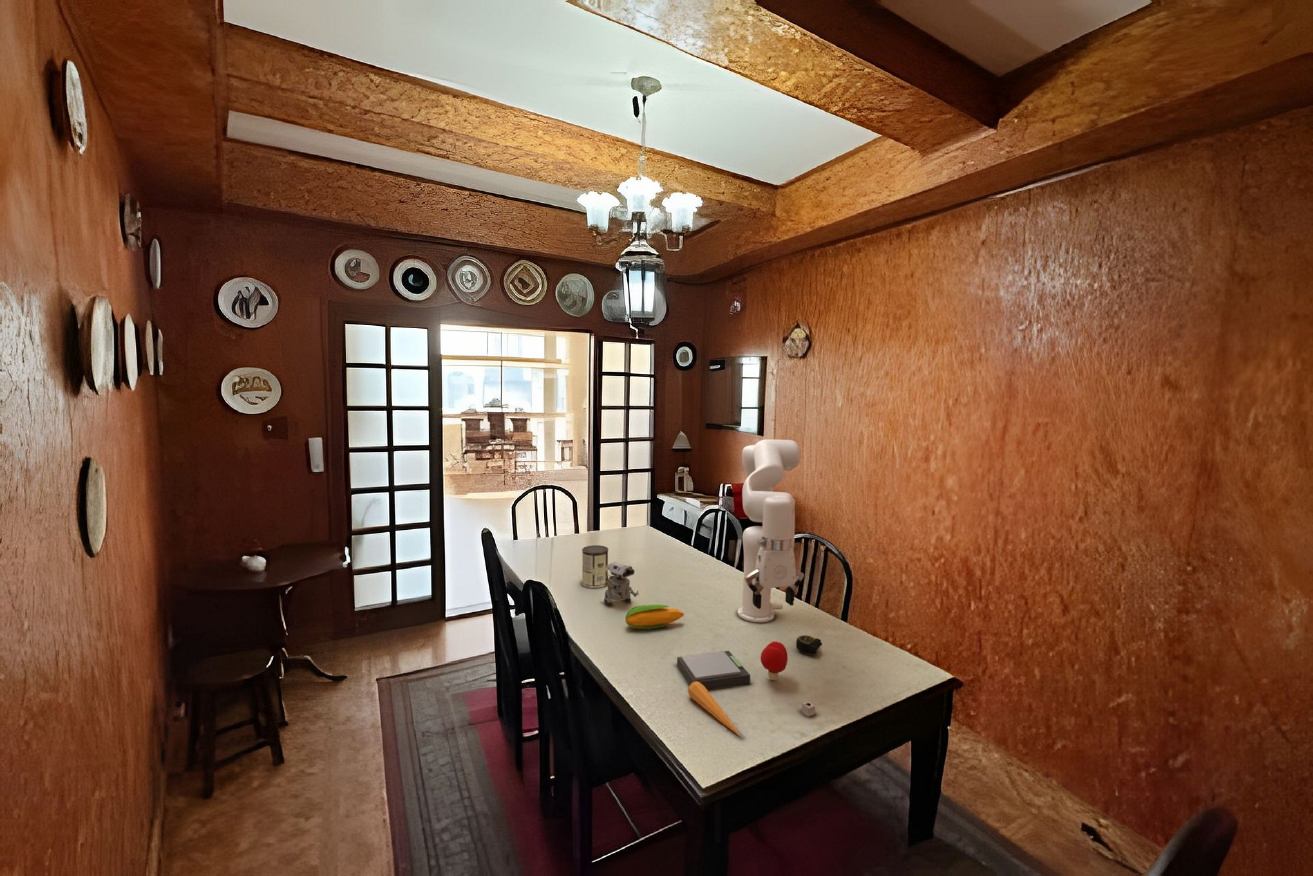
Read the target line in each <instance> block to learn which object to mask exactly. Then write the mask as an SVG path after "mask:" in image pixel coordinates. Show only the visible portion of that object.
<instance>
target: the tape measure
mask: <svg viewBox="0 0 1313 876" xmlns="http://www.w3.org/2000/svg"><path fill="white" fill-rule="evenodd" d="M821 646H823V642H822V641H821V639H820V638H815V637H813V636H811V635H805V634H803V635H799V636H798V637H797V638H796V641H795V647H796V649H797V651H798V652H800V653H802V654H805V655H813V656H815V655H816V654H817V652H818V651H819V649H820V648H821Z"/></svg>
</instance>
